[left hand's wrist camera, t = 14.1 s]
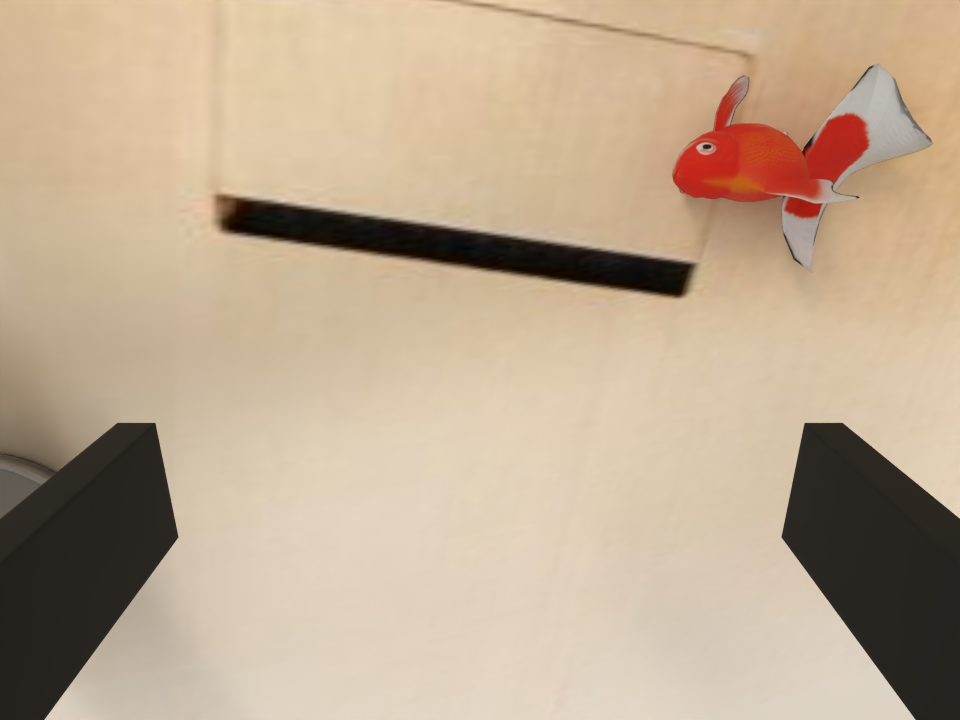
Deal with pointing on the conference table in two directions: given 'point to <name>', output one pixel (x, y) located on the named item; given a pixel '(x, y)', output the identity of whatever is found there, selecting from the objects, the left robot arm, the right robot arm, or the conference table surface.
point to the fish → (799, 155)
